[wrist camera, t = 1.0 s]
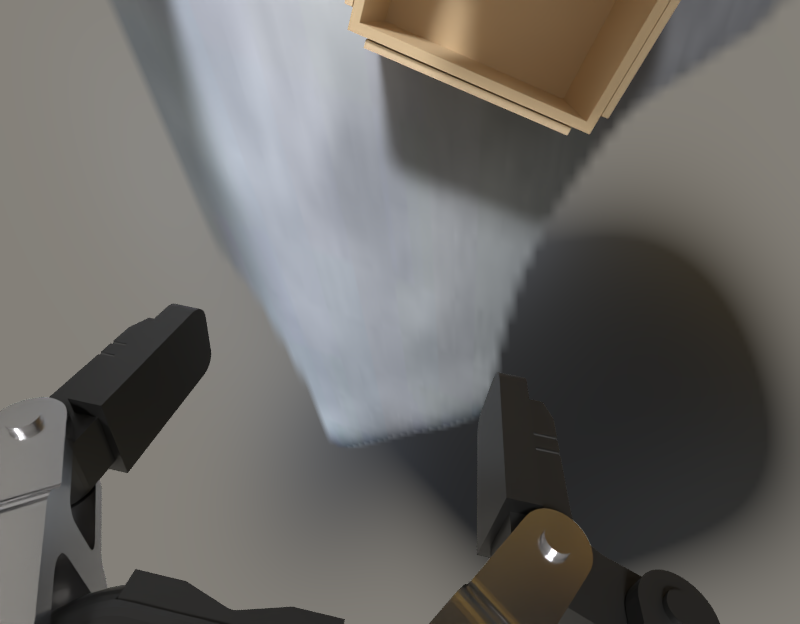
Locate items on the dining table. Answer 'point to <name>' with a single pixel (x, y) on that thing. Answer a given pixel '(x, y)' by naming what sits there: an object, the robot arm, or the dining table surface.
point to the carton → (521, 49)
